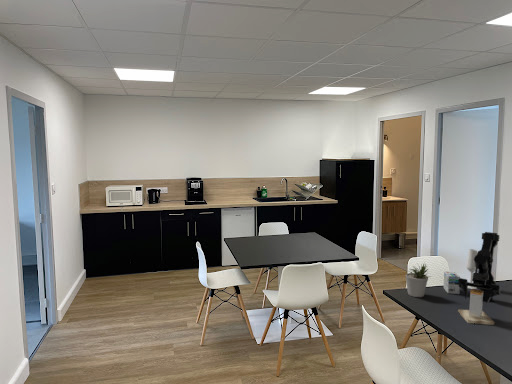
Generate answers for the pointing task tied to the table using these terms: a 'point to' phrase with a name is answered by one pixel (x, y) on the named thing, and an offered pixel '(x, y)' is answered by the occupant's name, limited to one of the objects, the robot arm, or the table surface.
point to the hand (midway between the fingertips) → (476, 300)
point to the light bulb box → (451, 282)
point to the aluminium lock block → (476, 303)
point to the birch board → (482, 320)
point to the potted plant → (417, 281)
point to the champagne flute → (471, 264)
